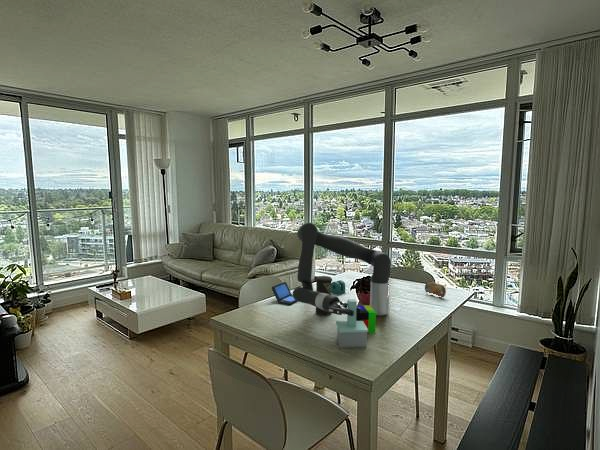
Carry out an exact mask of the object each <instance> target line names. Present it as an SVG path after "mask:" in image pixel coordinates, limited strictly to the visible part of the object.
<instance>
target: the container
mask: <svg viewBox="0 0 600 450" xmlns="http://www.w3.org/2000/svg"><path fill="white" fill-rule="evenodd" d="M314 281H316V283H315V284H316V289H315V291H318V292H321V293H326V294H329V295H332V293H331V283H332V282H333V278H332V277H331V276H327V275H320V276H319V275H318V276H317V277H315V279H314ZM315 314H316V315H319V316H325V317H327V316H330V315H331V314H332V313H329V312H328V311H325V310H322V309H320V308H318V307H315Z"/></svg>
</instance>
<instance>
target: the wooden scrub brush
mask: <svg viewBox="0 0 600 450" xmlns="http://www.w3.org/2000/svg"><path fill="white" fill-rule="evenodd" d="M424 291H425V293H426V292H429V293H433V294H436V295H438V296H441V297H442V298H444V297H446V293H447V290H446V287H445V286H444V285H443V284H440V283H437V282H434V281H427V282H426V283H425V285H424Z"/></svg>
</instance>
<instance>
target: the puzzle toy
mask: <svg viewBox="0 0 600 450" xmlns="http://www.w3.org/2000/svg"><path fill="white" fill-rule="evenodd" d="M357 307H359V308H361V313H357V312H356V321H363V322H364V324H365V325H366V327H367V329H368V332H367V334H376V327H377V325H376V323H377V322H376V321H377V320H376V319H377V317H376V316H377V315H376V312H375V311H374V310H373V309H372V307H371V306H370V304H368V305H367V304H365V305H357Z"/></svg>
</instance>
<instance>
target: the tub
mask: <svg viewBox="0 0 600 450" xmlns="http://www.w3.org/2000/svg"><path fill="white" fill-rule="evenodd" d="M367 337H368V335H367V332H345V333H339V330H338V327H337V326H336V340H337V342H338V343H337V344H338V346H339V348H340V349H366V348H367V340H368V339H367Z"/></svg>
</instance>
